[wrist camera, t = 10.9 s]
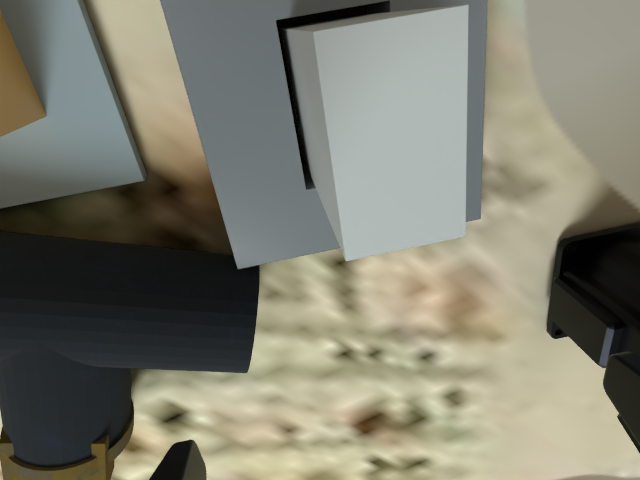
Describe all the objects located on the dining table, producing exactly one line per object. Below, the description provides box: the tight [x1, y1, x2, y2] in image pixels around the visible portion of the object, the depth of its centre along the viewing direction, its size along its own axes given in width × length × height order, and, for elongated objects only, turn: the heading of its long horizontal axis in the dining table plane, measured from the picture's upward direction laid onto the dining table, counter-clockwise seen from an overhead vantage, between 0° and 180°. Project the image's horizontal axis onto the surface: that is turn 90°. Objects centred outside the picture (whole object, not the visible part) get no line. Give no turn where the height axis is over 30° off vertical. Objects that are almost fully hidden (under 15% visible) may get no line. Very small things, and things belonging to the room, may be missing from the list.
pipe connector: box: [0, 231, 260, 480], centre depth 18 cm, size 12×5×15 cm
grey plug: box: [281, 5, 468, 261], centre depth 13 cm, size 3×5×9 cm, turn 8°
